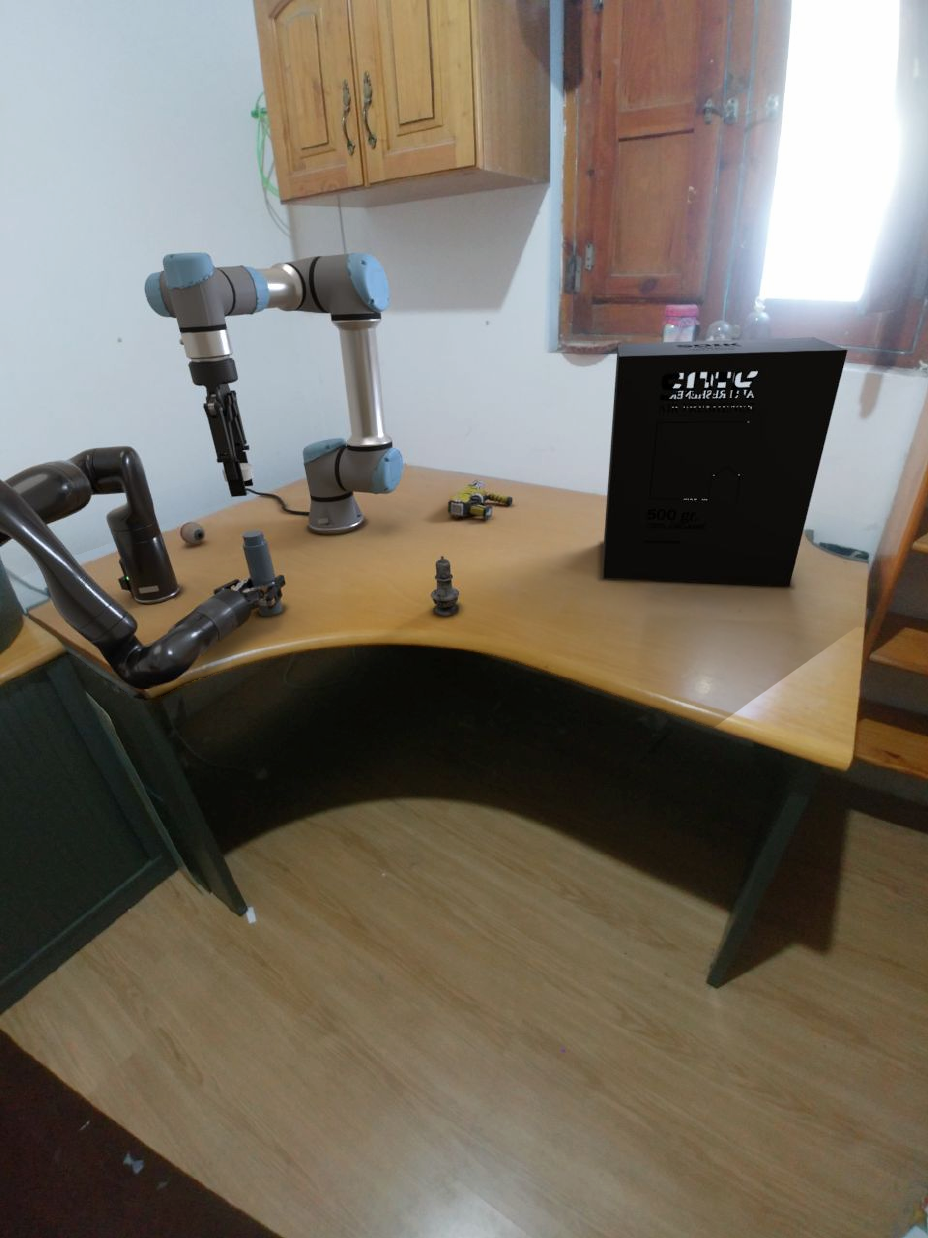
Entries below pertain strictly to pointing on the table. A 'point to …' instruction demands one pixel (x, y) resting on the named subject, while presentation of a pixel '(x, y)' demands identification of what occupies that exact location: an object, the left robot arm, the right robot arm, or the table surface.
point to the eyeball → (192, 533)
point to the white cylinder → (243, 471)
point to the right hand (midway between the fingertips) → (242, 490)
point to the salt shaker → (444, 590)
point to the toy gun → (475, 501)
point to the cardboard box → (716, 458)
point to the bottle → (260, 565)
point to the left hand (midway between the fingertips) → (271, 577)
